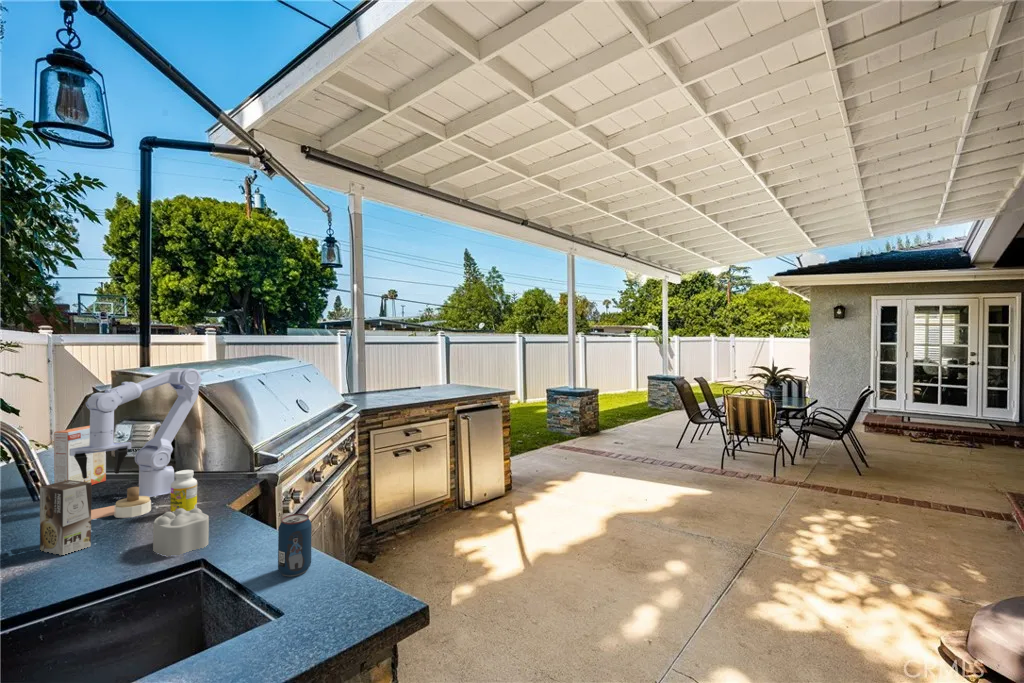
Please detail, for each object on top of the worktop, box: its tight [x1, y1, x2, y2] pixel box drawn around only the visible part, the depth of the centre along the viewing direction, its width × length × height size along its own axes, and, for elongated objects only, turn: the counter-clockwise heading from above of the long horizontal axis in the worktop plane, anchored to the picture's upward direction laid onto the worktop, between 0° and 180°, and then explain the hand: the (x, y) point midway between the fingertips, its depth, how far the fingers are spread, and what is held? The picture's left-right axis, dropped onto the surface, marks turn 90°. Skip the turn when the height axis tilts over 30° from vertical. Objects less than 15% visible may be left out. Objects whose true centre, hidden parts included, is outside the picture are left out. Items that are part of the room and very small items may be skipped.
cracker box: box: [53, 425, 107, 486], centre depth 172 cm, size 14×6×21 cm, turn 174°
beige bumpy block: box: [152, 507, 210, 556], centre depth 123 cm, size 10×13×9 cm
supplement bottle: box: [169, 469, 198, 512], centre depth 145 cm, size 7×7×13 cm
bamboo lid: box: [115, 486, 151, 507], centre depth 145 cm, size 8×8×4 cm
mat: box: [91, 505, 114, 521], centre depth 145 cm, size 10×10×1 cm
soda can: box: [277, 513, 313, 577], centre depth 110 cm, size 7×7×12 cm
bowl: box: [113, 499, 152, 519], centre depth 145 cm, size 8×8×4 cm
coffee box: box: [39, 480, 93, 556], centre depth 121 cm, size 9×6×16 cm
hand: (100, 475), depth 150 cm, fingers open, 7 cm apart
